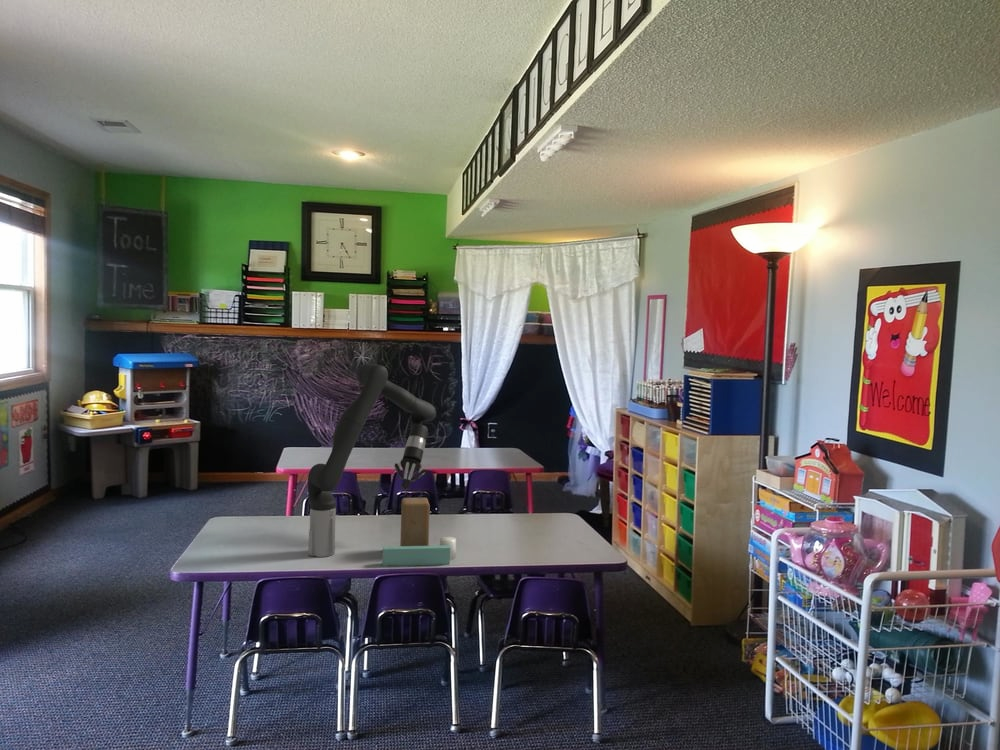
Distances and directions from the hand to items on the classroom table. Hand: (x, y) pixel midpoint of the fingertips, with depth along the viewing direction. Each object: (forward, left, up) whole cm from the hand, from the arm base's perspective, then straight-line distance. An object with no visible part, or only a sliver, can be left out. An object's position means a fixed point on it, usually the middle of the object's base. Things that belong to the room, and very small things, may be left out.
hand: (404, 489), depth 272 cm
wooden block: (+4, -10, -22) cm, 25 cm away
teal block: (+4, -23, -22) cm, 32 cm away
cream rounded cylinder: (+16, -17, -22) cm, 32 cm away
